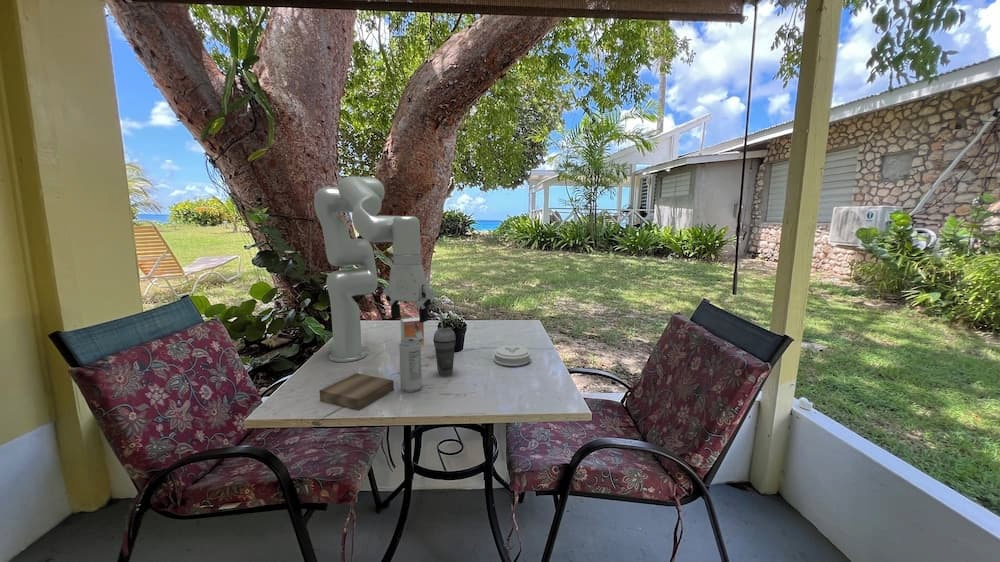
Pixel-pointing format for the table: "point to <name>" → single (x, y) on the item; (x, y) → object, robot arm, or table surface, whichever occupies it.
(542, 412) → the table surface
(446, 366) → the beverage cup
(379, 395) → the walnut base
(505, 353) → the lid
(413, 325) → the small box
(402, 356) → the energy drink can
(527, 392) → the table surface
